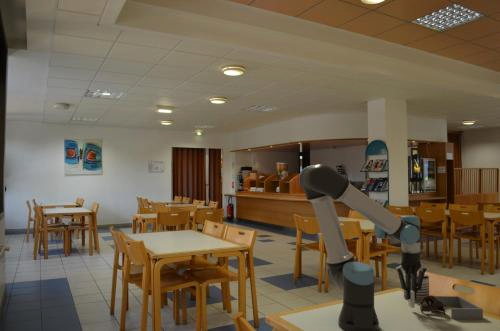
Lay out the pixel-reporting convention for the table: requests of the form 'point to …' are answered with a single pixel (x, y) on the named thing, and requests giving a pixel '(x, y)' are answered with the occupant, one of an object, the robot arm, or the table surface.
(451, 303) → the box
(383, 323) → the table surface
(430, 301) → the brown ring with knob
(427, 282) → the can
